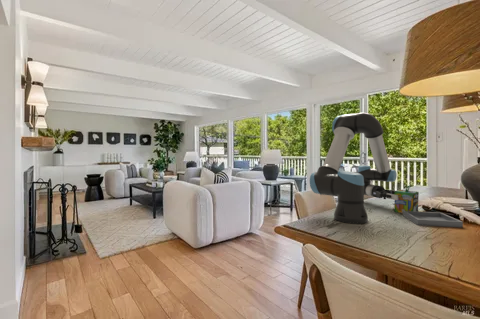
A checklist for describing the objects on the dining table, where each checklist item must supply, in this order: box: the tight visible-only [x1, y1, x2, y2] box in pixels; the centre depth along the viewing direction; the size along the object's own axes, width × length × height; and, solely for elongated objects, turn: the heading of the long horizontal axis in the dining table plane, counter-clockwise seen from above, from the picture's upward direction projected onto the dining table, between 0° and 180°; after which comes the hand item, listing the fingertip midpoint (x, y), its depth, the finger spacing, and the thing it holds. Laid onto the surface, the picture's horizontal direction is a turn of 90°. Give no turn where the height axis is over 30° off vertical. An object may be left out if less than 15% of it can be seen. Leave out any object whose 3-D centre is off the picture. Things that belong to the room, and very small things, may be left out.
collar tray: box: [402, 211, 464, 228], centre depth 118 cm, size 17×17×2 cm
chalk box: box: [393, 185, 420, 214], centre depth 135 cm, size 9×9×15 cm
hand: (407, 197), depth 135 cm, fingers open, 13 cm apart
